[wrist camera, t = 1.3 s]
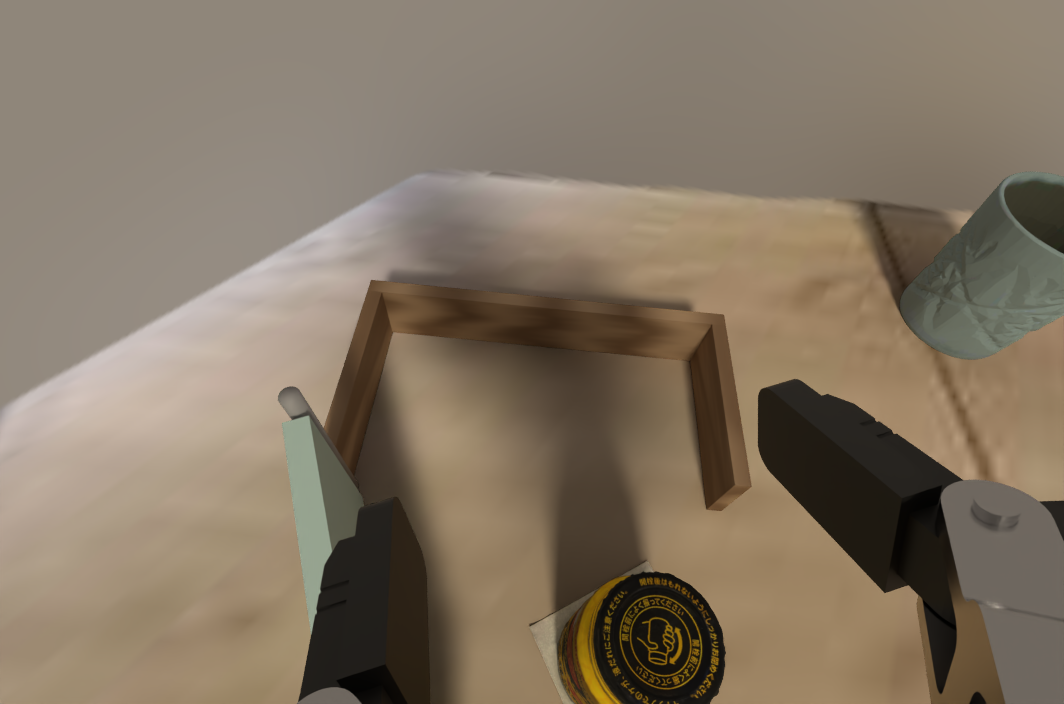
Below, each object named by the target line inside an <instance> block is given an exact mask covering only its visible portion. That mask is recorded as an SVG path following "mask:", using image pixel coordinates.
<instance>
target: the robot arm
mask: <svg viewBox="0 0 1064 704" xmlns="http://www.w3.org/2000/svg"><path fill="white" fill-rule="evenodd" d="M758 448H759V452H760V455H761V458H762V460H763V462H764V464H765V466H766V467H767V469H768V470H769V471H770V472H771V474H772V475H773V476H774V477H775V478H776V479H777V480H778V481H779V482H780V483H781V484H782V485H783V486H784V487H785V488H786V489H787V490H788V491H789V493H790V494H791V495H792V496H793V497H794V498H795V499H796V500H797V501H798V502H799V503H800V504H801V505H802V506H803V507H804V508H805V509H806V510H807V512H808V513H809V514H810V515H811V516H812V517H813V518H814V519H815V520H816V521H817V522H818V523H819V524H820V525H821V526H822V527H823V528H824V529H825V531H826V532H827V533H828V534H829V535H830V536H831V537H832V538H833V539H834V540H835V541H836V542H837V543H838V544H839V545H840V546H841V547H842V548H843V550H844V551H845V552H846V553H847V554H848V555H849V556H850V557H851V558H852V559H853V560H854V561H855V562H856V563H857V564H858V565H859V566H860V567H861V568H862V570H863V571H864V572H865V573H866V574H867V575H868V576H869V577H870V578H871V579H872V580H873V581H874V582H875V583H876V584H877V585H878V586H879V587H880V589H881V590H882V591H883V592H884V593H886V592H889V591H892V590H895V589H898V588H901V587H904V586H907V585H909V586H910V587H911V588H912V589H913V590H914V591H915V592H916V593H917V594H918V599H917V613H918V619H919V626H920V633H921V639H922V646H923V652H924V659H925V666H926V672H927V679H928V686H929V692H930V699H931V704H1064V501H1042V502H1039V501H1037V500H1036V499H1034V498H1033V497H1031V496H1030V495H1028V494H1026V493H1024V492H1022V491H1020V490H1018V489H1015V488H1013V487H1010V486H1007V485H1004V484H1000V483H996V482H991V481H986V480H962V479H961V478H959V477H958V476H957V475H955V474H954V473H952V472H951V471H949V470H948V469H946V468H945V467H944V466H942V465H941V464H939V463H938V462H936V461H935V460H934V459H932V458H931V457H929V456H928V455H926V454H925V453H924V452H922V451H921V450H919V449H918V448H916V447H915V446H914V445H912V444H911V443H909V442H908V441H906V440H905V439H904V438H902V437H901V436H899V435H898V434H893V432H892V430H891V429H889V428H888V427H886V426H885V425H884V424H882V423H881V422H876V421H875V418H874V417H872V416H871V415H869V414H868V413H866V412H865V411H864V410H862V409H861V408H859V407H858V406H856V405H855V404H853V403H850V402H848V401H845V400H842V399H840V398H837V397H834V396H831V395H829V394H826V395H823V396H821V395H820V394H818V393H817V392H816V391H814V390H813V389H812V388H810V387H809V386H808V385H806V384H805V383H803V382H802V381H800V380H798V379H793V380H789V381H786V382H783V383H779V384H776V385H773V386H769V387H766V388H763V389H761V390H760V392H759V395H758ZM320 590H321V593H320V594H319V596H318V602H317V607H316V610H317V614H315V618H314V623H313V628H312V634H311V639H310V644H309V650H308V655H307V661H306V666H305V671H304V677H303V682H302V687H301V693H300V696H299V700H298V703H297V704H430V673H429V639H428V605H427V576H426V568H425V562H424V558H423V554H422V551H421V548H420V546H419V543H418V541H417V539H416V536H415V534H414V532H413V529H412V527H411V525H410V523H409V520H408V518H407V516H406V513H405V511H404V509H403V506H402V504H401V502H400V500H399V499H398V498H397V497H393V498H390V499H386V500H383V501H380V502H376V503H373V504H370V505H366V506H363V507H360V509H359V511H358V516H357V524H356V531H355V536H353V537H349V538H346V539H343V540H340V541H338V543H337V545H336V546H335V548H334V550H333V551H332V553H331V555H330V556H329V558H328V560H327V561H326V563H325V565H324V570H323V575H322V580H321V586H320Z"/></svg>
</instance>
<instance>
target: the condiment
mask: <svg viewBox="0 0 1064 704" xmlns="http://www.w3.org/2000/svg"><path fill="white" fill-rule="evenodd" d="M530 630H531V632H532V634H533V636H534V639H535V641H536V643H537V645H538V648H539V650H540V652H541V655H542V657H543V659H544V661H545V664H546V666H547V668H548V671H549V673H550V675H551V677H552V680H553V682H554V684H555V686H556V689H557V691H558V693H559V695H560V697H561V700H562V702H563V704H710V702H711V700H712V699H713V697H714V696H717V694H718V693H719V688H720V686H721V683H722V680H723V676H724V668H725V660H724V658H725V654H726V652H725V646H724V643H723V633H722V629H721V627H720V625H719V622H718V620H717V618H716V616H715V614H714V612H713V611H712V609H711V608H710V606H709V604H708V603H707V601H706V600H705V599H704V598H703V596H702V595H701V594H700V593H699V592H698V591H697V590H696V589H694V588H693V587H692V586H691V585H690V584H688V583H686V582H684V581H682V580H680V579H678V578H677V577H675V576H674V575H672V574H669V573H659V572H656V571H655V572H654V571H653V569H652V568H651V566H650V564H649V563H648V561H646V562H644V563H642V564H641V565H639V566H637V567H635V568H634V569H632V570H630V571H628V572H626V573H625V574H623V575H621V576H619V577H617V578H614V579H612V580H611V581H609V582H608V583H606V584H604V585H603V586H601V587H600V588H598V589H596V590H594V591H593V592H591V593H589V594H587V595H586V596H584V597H582V598H580V599H578V600H577V601H575V602H573V603H571V604H570V605H568V606H566V607H564V608H562V609H561V610H559V611H557V612H555V613H554V614H552V615H550V616H548V617H546V618H545V619H543V620H541V621H539V622H537V623H536V624H534V625H532V626H530Z"/></svg>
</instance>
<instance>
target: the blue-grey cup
mask: <svg viewBox="0 0 1064 704" xmlns="http://www.w3.org/2000/svg"><path fill="white" fill-rule="evenodd" d="M900 311H901V314H902V317H903V319H904V320H905V322H906V324H907V325H908V327H909V328H910V329H911V330H912V331H913V332H914V334H915V335H916V336H917V337H918V338H920V339H921V340H922V341H924V342H925V343H926V344H928V345H929V346H931V347H932V348H934V349H936V350H938V351H940V352H942V353H944V354H947V355H949V356H952V357H956V358H960V359H968V360H972V359H982V358H985V357H988V356H991V355H993V354H995V353H997V352H998V351H1000V350H1002V349H1003V348H1005V347H1007V346H1009V345H1010V344H1012V343H1014V342H1016V341H1018V340H1019V339H1021V338H1022V337H1023V336H1024V335H1025V334H1026V333H1028V332H1029V331H1036V330H1038V329H1040V328H1042V327H1043V326H1045V325H1047V324H1049V323H1051V322H1053V321H1054V320H1056V319H1058V318H1060V317H1061V316H1063V315H1064V177H1062V176H1059V175H1055V174H1050V173H1043V172H1022V173H1017V174H1013V175H1011V176H1009V177H1007V178H1006V179H1004V180H1003V181H1002V182H1001V183H1000V184H999V186H998V187H997V188H996V189H995V190H994V191H993V192H992V194H991V195H990V196H989V197H988V198H987V199H986V201H985V202H984V203H983V204H982V205H981V207H980V208H979V209H978V210H977V211H976V212H975V213H974V214H973V215H972V217H971V218H970V219H969V220H968V221H967V223H966V224H965V225H964V226H963V227H962V228H961V230H960V233H959V234H956V235H955V236H954V237H953V238H952V239H951V240H950V241H949V242H948V243H947V244H946V245H945V246H944V247H943V249H942V250H941V251H940V252H939V254H938V255H936V256H935V257H934V262H933V263H932V264H930V265H929V266H928V267H926V268H925V269H924V270H923V271H922V272H921V273H920V274H919V275H918V276H917V277H916V278H915V279H914V281H913V282H912V283H911V284H910V285H909V286H908V287H907V288H906V289H905V291H904V292H903V294H902V296H901V299H900Z"/></svg>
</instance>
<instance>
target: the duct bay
mask: <svg viewBox="0 0 1064 704" xmlns="http://www.w3.org/2000/svg"><path fill="white" fill-rule="evenodd" d="M393 332H398V333H408V334H418V335H429V336H439V337H449V338H460V339H470V340H480V341H490V342H501V343H511V344H521V345H532V346H542V347H552V348H562V349H573V350H583V351H593V352H604V353H614V354H624V355H634V356H645V357H655V358H665V359H676V360H686V361H690V363H691V372H692V382H693V391H694V400H695V409H696V418H697V427H698V436H699V445H700V454H701V463H702V473H703V482H704V491H705V500H706V509H707V510H717V511H722V510H723V509H724V508H725V507H727V506H728V505H729V504H730V503H732V502H733V501H734V500H735V499H737V498H738V497H739V496H740V495H742V494H743V493H744V492H745V491H747V490H748V489H749V488H750V487H752V486H751V480H750V474H749V467H748V461H747V455H746V449H745V442H744V436H743V430H742V424H741V418H740V411H739V405H738V399H737V393H736V387H735V380H734V374H733V368H732V362H731V356H730V349H729V343H728V337H727V331H726V325H725V318H724V315H722V314H711V313H701V312H691V311H681V310H671V309H661V308H651V307H640V306H630V305H620V304H610V303H600V302H590V301H579V300H569V299H559V298H549V297H539V296H529V295H519V294H508V293H498V292H488V291H478V290H468V289H458V288H447V287H437V286H427V285H417V284H407V283H397V282H387V281H376V280H371V282H370V285H369V288H368V292H367V295H366V298H365V301H364V304H363V307H362V310H361V313H360V317H359V320H358V323H357V326H356V329H355V332H354V335H353V338H352V342H351V345H350V348H349V351H348V354H347V357H346V360H345V363H344V367H343V370H342V373H341V376H340V379H339V382H338V385H337V388H336V392H335V395H334V398H333V401H332V404H331V407H330V410H329V413H328V417H327V420H326V423H325V426H324V430H325V431H326V433H327V435H328V436H329V438H330V439H331V441H332V442H333V444H334V446H335V447H336V449H337V450H338V452H339V454H340V455H341V457H342V458H343V460H344V461H345V463H346V465H347V466H348V468H349V469H350V471H351V472H352V474H353V476H354V473H355V469H356V466H357V462H358V458H359V455H360V451H361V447H362V444H363V440H364V436H365V433H366V429H367V425H368V421H369V418H370V414H371V410H372V407H373V403H374V399H375V396H376V392H377V388H378V384H379V381H380V377H381V373H382V370H383V366H384V362H385V359H386V355H387V351H388V348H389V344H390V340H391V336H392V333H393Z"/></svg>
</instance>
